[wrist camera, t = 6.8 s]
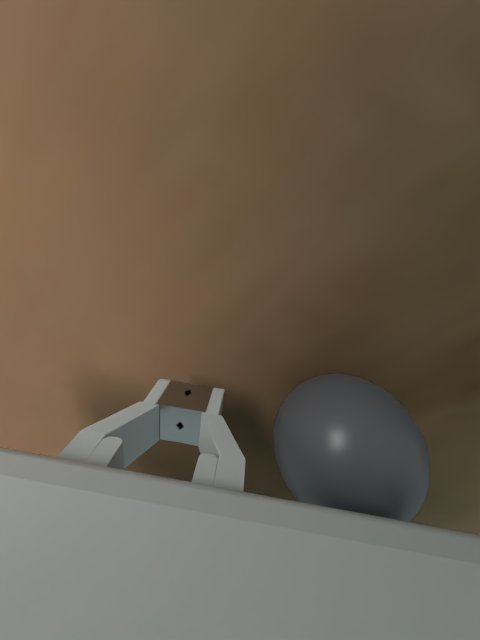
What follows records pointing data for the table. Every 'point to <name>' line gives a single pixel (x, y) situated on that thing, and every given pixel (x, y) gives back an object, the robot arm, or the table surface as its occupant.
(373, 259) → the table surface
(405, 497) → the charcoal ball
